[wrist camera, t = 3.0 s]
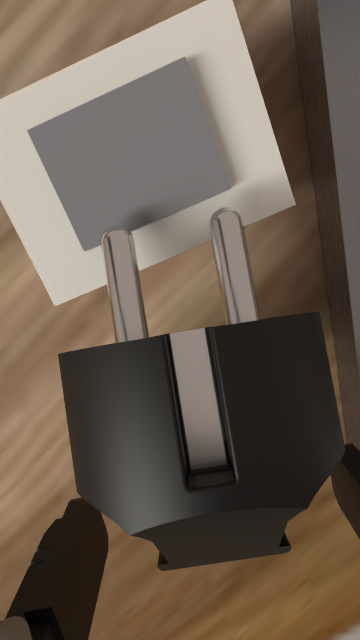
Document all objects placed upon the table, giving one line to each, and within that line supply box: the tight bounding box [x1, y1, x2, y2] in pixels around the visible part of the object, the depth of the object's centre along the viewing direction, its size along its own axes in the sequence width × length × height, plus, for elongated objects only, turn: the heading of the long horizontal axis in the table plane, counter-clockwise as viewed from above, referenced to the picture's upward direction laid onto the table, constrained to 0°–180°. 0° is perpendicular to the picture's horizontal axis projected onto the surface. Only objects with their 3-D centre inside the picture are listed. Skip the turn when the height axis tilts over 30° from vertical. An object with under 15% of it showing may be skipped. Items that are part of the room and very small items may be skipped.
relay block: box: [0, 0, 296, 306], centre depth 11 cm, size 5×7×6 cm
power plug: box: [58, 207, 345, 571], centre depth 11 cm, size 6×8×12 cm
